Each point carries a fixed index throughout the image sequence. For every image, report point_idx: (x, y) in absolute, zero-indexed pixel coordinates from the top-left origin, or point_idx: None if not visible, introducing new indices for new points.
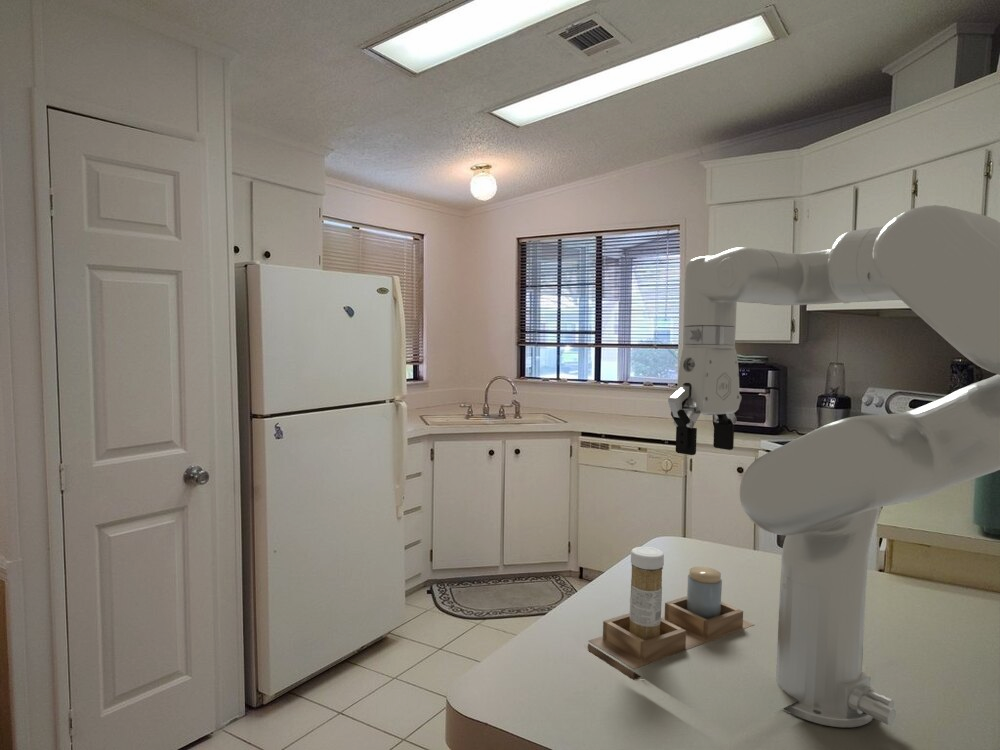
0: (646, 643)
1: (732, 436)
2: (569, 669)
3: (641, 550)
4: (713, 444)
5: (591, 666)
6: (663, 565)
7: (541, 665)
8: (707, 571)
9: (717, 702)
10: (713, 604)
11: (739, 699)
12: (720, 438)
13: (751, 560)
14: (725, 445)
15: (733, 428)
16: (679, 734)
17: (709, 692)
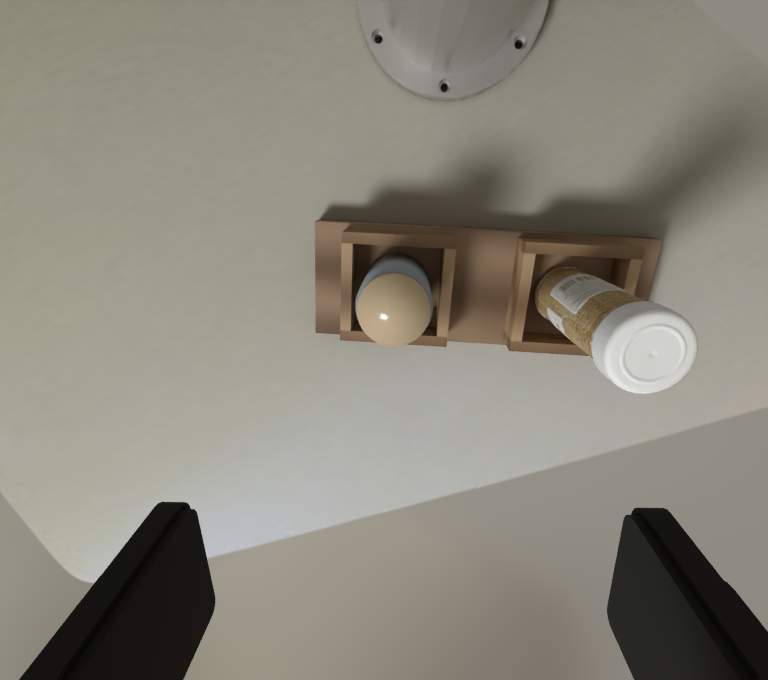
0: (638, 250)
1: (120, 578)
2: (701, 320)
3: (659, 367)
4: (209, 620)
5: None
6: (617, 308)
7: (724, 354)
8: (385, 310)
9: (606, 103)
10: (408, 263)
11: (566, 86)
12: (175, 628)
13: (15, 426)
14: (190, 551)
15: (52, 651)
16: (747, 79)
17: (586, 133)
